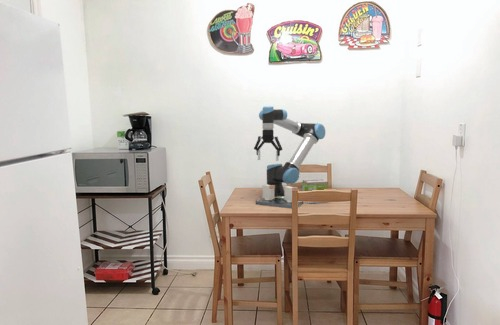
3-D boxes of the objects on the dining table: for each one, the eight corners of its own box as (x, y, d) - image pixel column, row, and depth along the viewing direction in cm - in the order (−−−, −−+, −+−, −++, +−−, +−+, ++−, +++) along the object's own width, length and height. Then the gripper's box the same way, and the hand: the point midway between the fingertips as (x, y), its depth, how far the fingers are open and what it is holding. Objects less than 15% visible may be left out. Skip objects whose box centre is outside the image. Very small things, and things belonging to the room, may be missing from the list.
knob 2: (283, 201, 234) (283, 186, 233) (288, 200, 237) (288, 185, 236) (293, 203, 228) (293, 188, 226) (298, 202, 231) (298, 187, 230)
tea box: (308, 204, 235) (308, 182, 233) (301, 200, 245) (301, 179, 243) (328, 202, 239) (328, 181, 237) (321, 199, 249) (321, 178, 247)
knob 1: (261, 199, 241) (261, 184, 240) (267, 198, 244) (267, 183, 243) (270, 201, 235) (270, 186, 233) (275, 200, 238) (275, 185, 236)
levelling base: (265, 199, 250) (265, 193, 249) (302, 203, 237) (303, 197, 237) (255, 204, 235) (255, 198, 235) (295, 208, 223) (295, 202, 223)
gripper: (249, 129, 240) (249, 160, 243) (283, 129, 229) (283, 161, 232) (253, 129, 247) (253, 158, 249) (287, 129, 236) (287, 160, 238)
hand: (268, 160), depth 241 cm, fingers open, 13 cm apart
